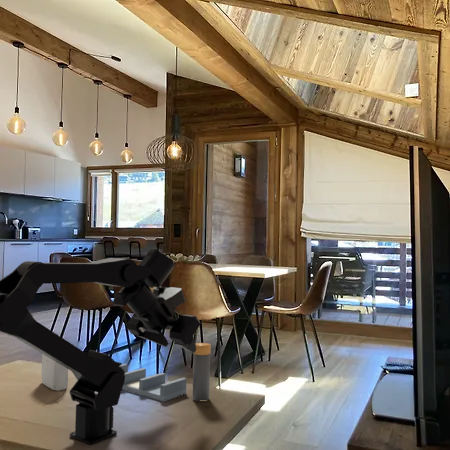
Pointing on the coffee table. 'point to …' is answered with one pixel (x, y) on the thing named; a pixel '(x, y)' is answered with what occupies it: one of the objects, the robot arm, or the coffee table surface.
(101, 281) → the robot arm
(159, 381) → the grey divided tray
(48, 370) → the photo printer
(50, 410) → the coffee table surface
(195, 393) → the grey cylinder
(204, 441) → the coffee table surface
